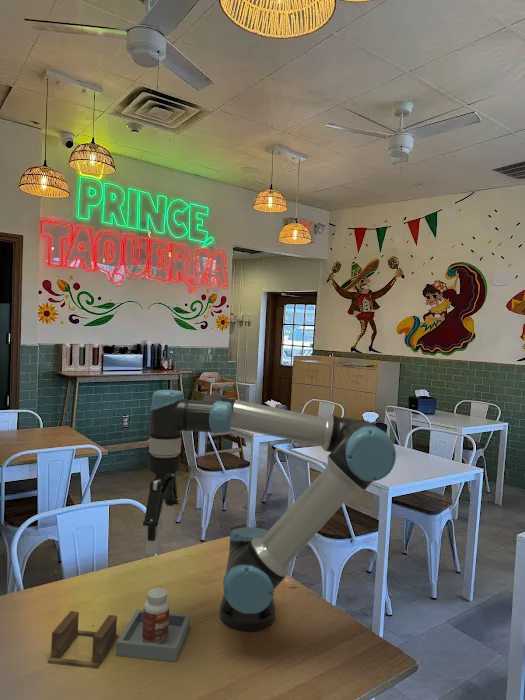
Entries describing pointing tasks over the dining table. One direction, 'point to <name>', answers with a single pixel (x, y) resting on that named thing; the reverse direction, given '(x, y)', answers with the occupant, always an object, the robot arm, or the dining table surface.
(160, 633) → the pill bottle
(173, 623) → the tray
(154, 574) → the dining table surface
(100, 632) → the wooden open frame
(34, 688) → the dining table surface
